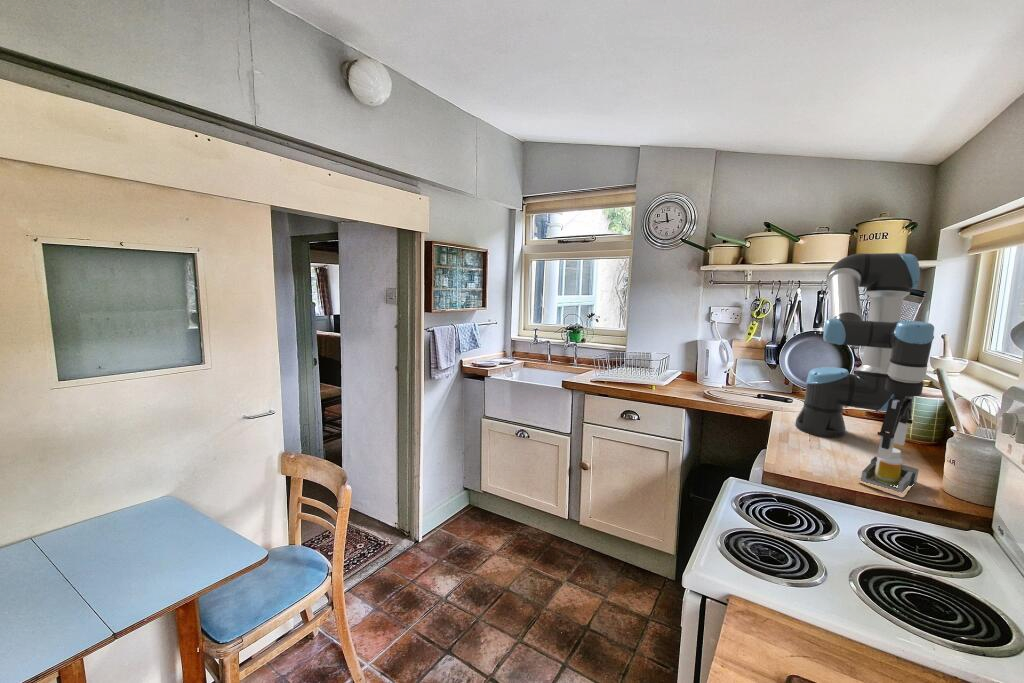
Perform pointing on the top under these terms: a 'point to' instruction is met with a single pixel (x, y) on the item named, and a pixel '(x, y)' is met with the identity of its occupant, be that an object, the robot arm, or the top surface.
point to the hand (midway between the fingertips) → (890, 451)
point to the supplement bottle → (889, 469)
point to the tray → (905, 480)
